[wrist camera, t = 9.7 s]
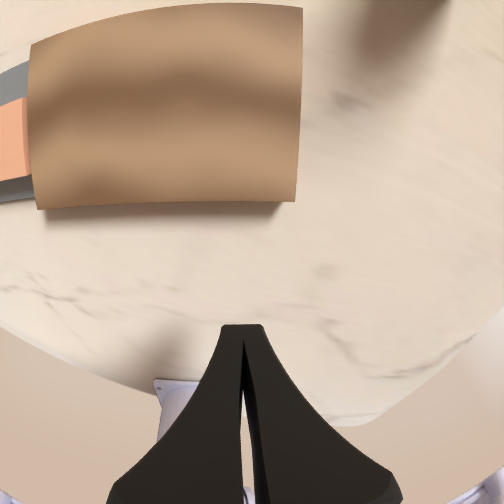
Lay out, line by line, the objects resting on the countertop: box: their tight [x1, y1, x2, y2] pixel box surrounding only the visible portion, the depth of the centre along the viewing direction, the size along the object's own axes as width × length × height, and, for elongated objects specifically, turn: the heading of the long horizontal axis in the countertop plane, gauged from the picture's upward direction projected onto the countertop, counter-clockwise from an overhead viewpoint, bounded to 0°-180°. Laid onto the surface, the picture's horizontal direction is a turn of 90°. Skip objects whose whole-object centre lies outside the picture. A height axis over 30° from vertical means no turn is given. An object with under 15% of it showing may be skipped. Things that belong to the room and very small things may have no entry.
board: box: [27, 3, 303, 210], centre depth 13 cm, size 11×16×2 cm
